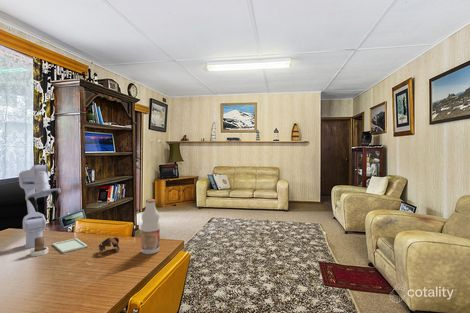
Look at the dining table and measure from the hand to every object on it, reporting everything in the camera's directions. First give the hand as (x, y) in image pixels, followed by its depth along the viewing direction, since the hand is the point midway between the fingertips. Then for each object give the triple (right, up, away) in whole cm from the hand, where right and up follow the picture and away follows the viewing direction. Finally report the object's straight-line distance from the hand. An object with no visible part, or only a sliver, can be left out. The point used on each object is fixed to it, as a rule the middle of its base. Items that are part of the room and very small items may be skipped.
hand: (46, 208), depth 128 cm
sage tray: (+1, -25, +17) cm, 30 cm away
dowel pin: (-8, -25, +7) cm, 27 cm away
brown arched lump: (+26, -26, +12) cm, 39 cm away
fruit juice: (+48, -26, +12) cm, 56 cm away
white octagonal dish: (-8, -25, +7) cm, 27 cm away
